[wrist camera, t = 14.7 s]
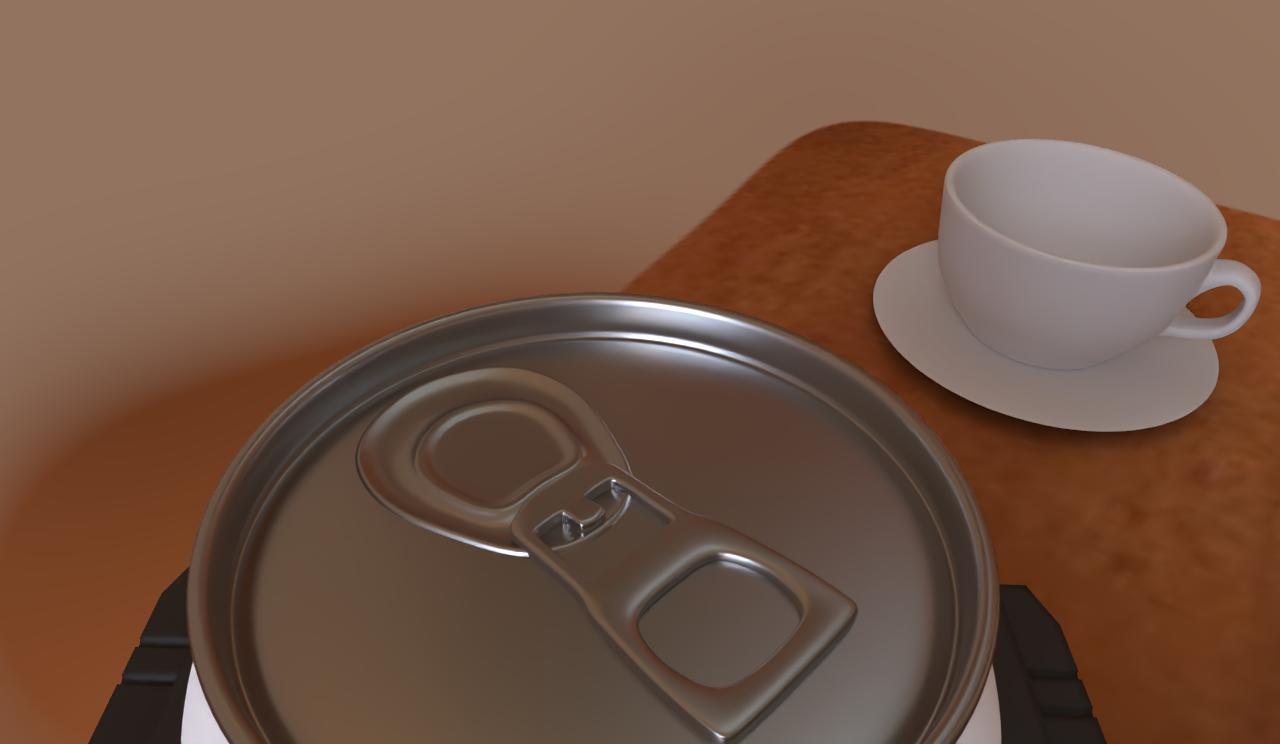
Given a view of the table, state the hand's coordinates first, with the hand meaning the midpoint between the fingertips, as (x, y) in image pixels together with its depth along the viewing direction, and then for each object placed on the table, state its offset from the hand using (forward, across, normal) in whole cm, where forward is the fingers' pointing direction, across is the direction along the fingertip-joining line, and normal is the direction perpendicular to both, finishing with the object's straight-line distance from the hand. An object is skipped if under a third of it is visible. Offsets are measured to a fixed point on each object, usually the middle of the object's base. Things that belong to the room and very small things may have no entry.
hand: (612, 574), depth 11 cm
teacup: (+17, -13, +9) cm, 23 cm away
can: (-2, 0, +9) cm, 9 cm away
